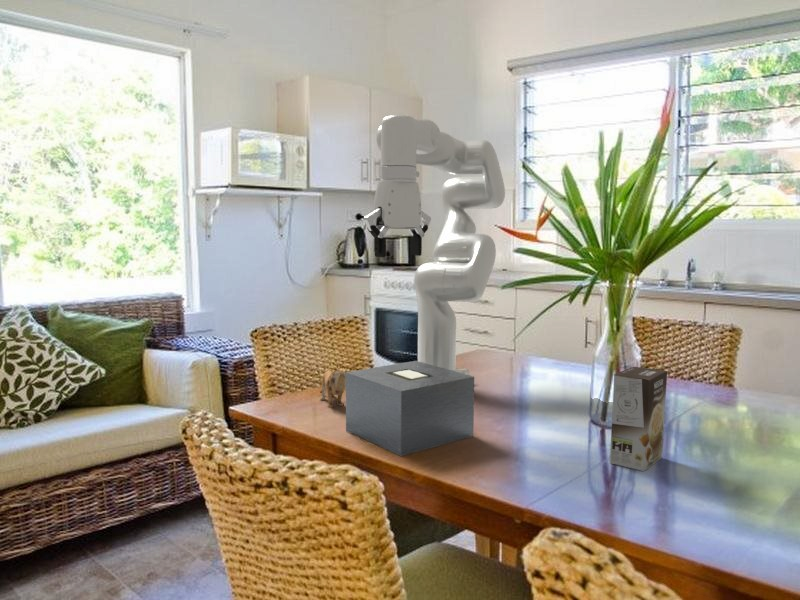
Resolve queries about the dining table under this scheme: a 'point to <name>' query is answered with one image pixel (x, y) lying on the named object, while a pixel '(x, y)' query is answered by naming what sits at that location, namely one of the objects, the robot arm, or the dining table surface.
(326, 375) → the tan spotted animal figure
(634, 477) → the dining table surface
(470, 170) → the robot arm
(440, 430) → the box
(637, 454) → the coffee box
